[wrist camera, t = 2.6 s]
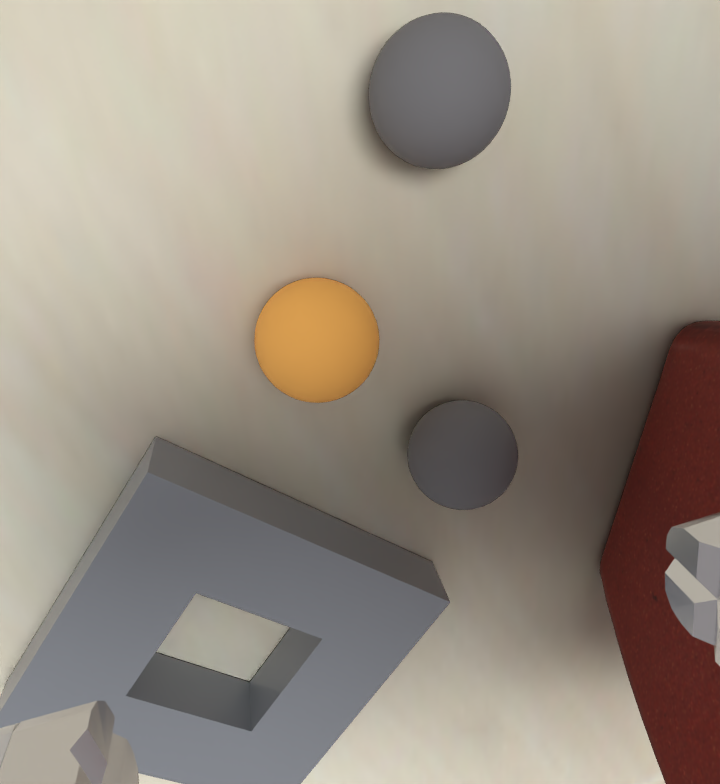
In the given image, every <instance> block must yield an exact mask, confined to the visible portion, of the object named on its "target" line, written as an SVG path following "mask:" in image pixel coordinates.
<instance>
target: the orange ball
mask: <svg viewBox="0 0 720 784" xmlns="http://www.w3.org/2000/svg"><path fill="white" fill-rule="evenodd" d="M254 342H255V351H256V356H257V359H258V362H259V365H260V367H261V369H262V371H263V372H264V374H265V375H266V377H267V378H268V379H269V381H270V382H271V383H272V384H273V385H274V386H275V387H276V388H278V389H279V390H280V391H281V392H283V393H285V394H286V395H288V396H290V397H292V398H295V399H298V400H301V401H305V402H313V403H321V402H329V401H333V400H336V399H340V398H342V397H344V396H346V395H348V394H350V393H351V392H353V391H354V390H355V389H357V388H358V387H359V386H360V385H361V384H362V383H363V382H364V381H365V380H366V378H367V377H368V376H369V374H370V372H371V371H372V369H373V367H374V364H375V362H376V359H377V355H378V350H379V331H378V326H377V322H376V319H375V317H374V314H373V312H372V310H371V309H370V307H369V305H368V304H367V303H366V301H365V300H364V299H363V298H362V297H361V296H360V295H359V294H358V293H357V292H356V291H354V290H353V289H352V288H350V287H349V286H347V285H345V284H343V283H340V282H338V281H335V280H331V279H326V278H307V279H301V280H298V281H295V282H293V283H290V284H288V285H286V286H285V287H283V288H281V289H280V290H279V291H278V292H276V293H275V294H274V295H273V296H272V297H271V298H270V299H269V300H268V302H267V303H266V305H265V306H264V307H263V309H262V311H261V313H260V315H259V318H258V321H257V324H256V329H255V339H254Z"/></svg>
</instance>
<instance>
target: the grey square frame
mask: <svg viewBox="0 0 720 784" xmlns="http://www.w3.org/2000/svg"><path fill="white" fill-rule="evenodd" d="M196 593H197V594H200V595H203V596H206V597H208V598H211V599H214V600H217V601H219V602H222V603H225V604H228V605H230V606H233V607H236V608H238V609H241V610H244V611H247V612H249V613H252V614H255V615H258V616H260V617H263V618H266V619H269V620H271V621H274V622H277V623H280V624H282V625H285V626H288V627H291V628H290V629H289V630H288V632H287V633H286V634H285V636H284V637H283V638H282V640H281V641H280V642H279V644H278V645H277V646H276V648H275V649H274V650H273V652H272V653H271V654H270V656H269V657H268V658H267V660H266V661H265V662H264V664H263V665H262V666H261V668H260V669H259V670H258V672H257V673H256V674H255V676H254V677H253V678H252V680H251V681H250V682H247V681H244V680H241V679H238V678H235V677H231V676H228V675H225V674H222V673H219V672H216V671H212V670H209V669H206V668H203V667H200V666H197V665H194V664H190V663H187V662H184V661H181V660H178V659H175V658H171V657H168V656H165V655H162V654H159V653H156V651H157V649H158V648H159V646H160V645H161V644H162V642H163V641H164V639H165V638H166V636H167V635H168V633H169V632H170V630H171V629H172V627H173V626H174V624H175V623H176V622H177V620H178V619H179V617H180V616H181V614H182V613H183V611H184V610H185V608H186V607H187V605H188V604H189V602H190V601H191V600H192V598H193V597H194V595H195V594H196ZM449 603H450V600H449V598H448V596H447V594H446V592H445V589H444V587H443V585H442V583H441V580H440V578H439V576H438V574H437V571H436V569H435V567H434V565H433V563H432V562H431V561H429V560H427V559H425V558H422V557H420V556H418V555H416V554H414V553H411V552H409V551H407V550H405V549H403V548H400V547H398V546H396V545H394V544H392V543H389V542H387V541H385V540H383V539H381V538H378V537H376V536H374V535H372V534H370V533H367V532H365V531H363V530H361V529H359V528H356V527H354V526H352V525H350V524H348V523H345V522H343V521H341V520H339V519H337V518H334V517H332V516H330V515H328V514H326V513H323V512H321V511H319V510H317V509H315V508H313V507H310V506H308V505H306V504H304V503H302V502H299V501H297V500H295V499H293V498H291V497H288V496H286V495H284V494H282V493H280V492H277V491H275V490H273V489H271V488H269V487H266V486H264V485H262V484H260V483H258V482H255V481H253V480H251V479H249V478H247V477H244V476H242V475H240V474H238V473H236V472H233V471H231V470H229V469H227V468H225V467H222V466H220V465H218V464H216V463H214V462H211V461H209V460H207V459H205V458H203V457H200V456H198V455H196V454H194V453H192V452H189V451H187V450H185V449H183V448H181V447H178V446H176V445H174V444H172V443H170V442H167V441H165V440H163V439H161V438H159V437H155V438H154V440H153V442H152V443H151V445H150V447H149V448H148V450H147V452H146V453H145V455H144V457H143V458H142V460H141V461H140V463H139V465H138V466H137V468H136V470H135V471H134V473H133V475H132V476H131V478H130V480H129V481H128V483H127V484H126V486H125V488H124V489H123V491H122V493H121V494H120V496H119V498H118V499H117V501H116V503H115V504H114V506H113V507H112V509H111V511H110V512H109V514H108V516H107V517H106V519H105V521H104V522H103V524H102V526H101V527H100V529H99V530H98V532H97V534H96V535H95V537H94V539H93V540H92V542H91V544H90V545H89V547H88V549H87V550H86V552H85V553H84V555H83V557H82V558H81V560H80V562H79V563H78V565H77V567H76V568H75V570H74V572H73V573H72V575H71V576H70V578H69V580H68V581H67V583H66V585H65V586H64V588H63V590H62V591H61V593H60V595H59V596H58V598H57V599H56V601H55V603H54V604H53V606H52V608H51V609H50V611H49V613H48V614H47V616H46V618H45V619H44V621H43V622H42V624H41V626H40V627H39V629H38V631H37V632H36V634H35V636H34V637H33V639H32V641H31V642H30V644H29V645H28V647H27V649H26V650H25V652H24V654H23V655H22V657H21V659H20V660H19V662H18V664H17V665H16V667H15V668H14V670H13V672H12V673H11V675H10V677H9V678H8V680H7V682H6V684H5V686H4V689H3V691H2V694H1V697H0V728H2V727H6V726H10V725H13V724H17V723H21V721H25V720H29V719H32V718H36V717H40V716H43V715H47V714H51V713H54V712H58V711H61V710H65V709H69V708H72V707H76V706H80V705H83V704H87V703H91V702H94V701H106V703H107V705H108V706H109V708H110V710H111V711H112V713H113V714H114V716H115V720H114V726H113V732H112V733H114V734H116V735H119V736H121V737H123V738H126V739H127V740H128V742H129V744H130V746H131V748H132V750H133V752H134V756H135V759H136V763H137V767H138V773H140V774H144V775H148V776H153V777H157V778H161V779H165V780H170V781H174V782H178V783H182V784H301V783H302V781H303V780H304V779H305V778H306V777H307V775H308V774H309V773H310V772H311V771H312V769H313V768H314V767H315V766H316V764H317V763H318V762H319V761H320V760H321V758H322V757H323V756H324V755H325V754H326V752H327V751H328V750H329V749H330V747H331V746H332V745H333V744H334V743H335V741H336V740H337V739H338V738H339V737H340V735H341V734H342V733H343V732H344V730H345V729H346V728H347V727H348V726H349V724H350V723H351V722H352V721H353V720H354V718H355V717H356V716H357V715H358V714H359V712H360V711H361V710H362V709H363V707H364V706H365V705H366V704H367V703H368V701H369V700H370V699H371V698H372V697H373V695H374V694H375V693H376V692H377V690H378V689H379V688H380V687H381V686H382V684H383V683H384V682H385V681H386V680H387V678H388V677H389V676H390V675H391V673H392V672H393V671H394V670H395V669H396V667H397V666H398V665H399V664H400V663H401V661H402V660H403V659H404V658H405V656H406V655H407V654H408V653H409V652H410V650H411V649H412V648H413V647H414V646H415V644H416V643H417V642H418V641H419V639H420V638H421V637H422V636H423V635H424V633H425V632H426V631H427V630H428V629H429V627H430V626H431V625H432V624H433V623H434V621H435V620H436V619H437V618H438V616H439V615H440V614H441V613H442V612H443V610H444V609H445V608H446V607H447V606H448V604H449Z"/></svg>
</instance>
